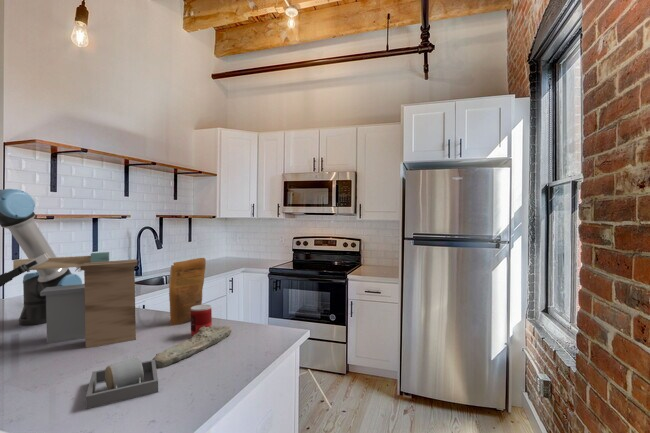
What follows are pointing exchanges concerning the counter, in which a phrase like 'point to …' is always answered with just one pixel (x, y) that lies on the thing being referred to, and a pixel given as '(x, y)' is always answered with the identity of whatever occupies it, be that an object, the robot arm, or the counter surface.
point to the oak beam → (65, 261)
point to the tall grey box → (65, 312)
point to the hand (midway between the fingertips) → (47, 256)
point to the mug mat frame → (121, 392)
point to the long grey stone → (192, 345)
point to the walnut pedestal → (109, 302)
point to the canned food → (200, 317)
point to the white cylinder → (124, 373)
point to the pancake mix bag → (185, 289)
